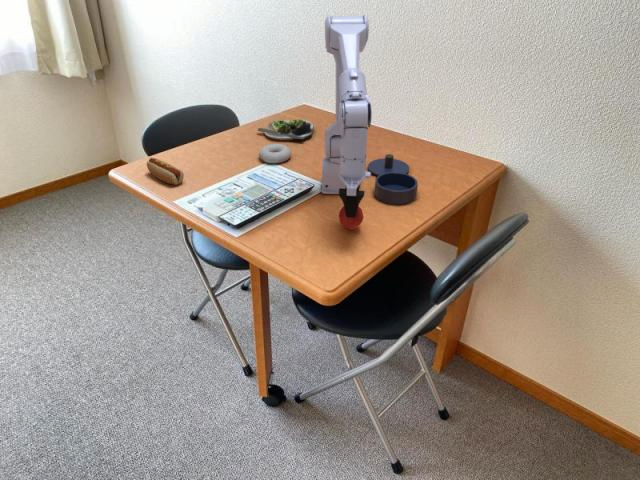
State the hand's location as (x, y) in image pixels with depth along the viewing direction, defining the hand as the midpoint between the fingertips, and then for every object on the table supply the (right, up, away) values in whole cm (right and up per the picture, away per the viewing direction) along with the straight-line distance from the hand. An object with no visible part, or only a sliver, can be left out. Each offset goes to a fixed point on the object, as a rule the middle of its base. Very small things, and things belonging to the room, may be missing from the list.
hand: (351, 208), depth 113 cm
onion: (0, -5, +4) cm, 6 cm away
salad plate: (-18, +30, +55) cm, 65 cm away
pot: (+13, +5, +18) cm, 23 cm away
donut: (-21, +18, +38) cm, 47 cm away
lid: (+13, +14, +30) cm, 35 cm away
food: (-52, +10, +26) cm, 59 cm away
